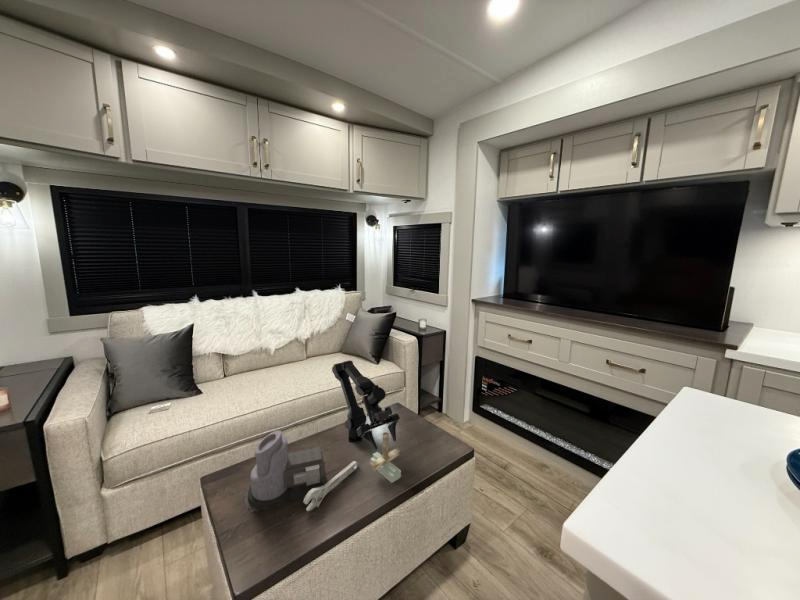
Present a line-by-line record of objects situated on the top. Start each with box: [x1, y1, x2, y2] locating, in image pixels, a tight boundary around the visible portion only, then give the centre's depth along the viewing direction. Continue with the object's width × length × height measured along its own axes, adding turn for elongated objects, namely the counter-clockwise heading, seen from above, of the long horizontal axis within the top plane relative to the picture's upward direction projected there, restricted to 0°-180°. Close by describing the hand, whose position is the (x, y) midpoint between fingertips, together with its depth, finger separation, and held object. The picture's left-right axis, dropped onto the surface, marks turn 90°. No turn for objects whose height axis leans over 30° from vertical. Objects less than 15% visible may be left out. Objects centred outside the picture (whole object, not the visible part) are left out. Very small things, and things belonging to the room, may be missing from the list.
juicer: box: [244, 430, 328, 513], centre depth 118 cm, size 30×16×24 cm, turn 110°
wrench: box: [302, 460, 359, 512], centre depth 121 cm, size 8×2×30 cm
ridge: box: [369, 451, 402, 484], centre depth 131 cm, size 14×5×4 cm, turn 43°
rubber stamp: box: [369, 432, 401, 471], centre depth 129 cm, size 14×2×12 cm, turn 133°
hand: (386, 444), depth 129 cm, fingers open, 9 cm apart
